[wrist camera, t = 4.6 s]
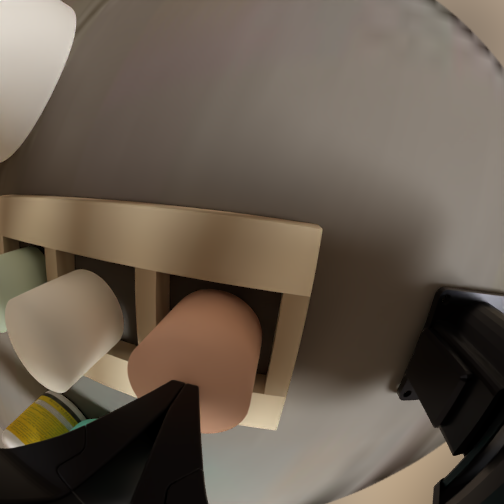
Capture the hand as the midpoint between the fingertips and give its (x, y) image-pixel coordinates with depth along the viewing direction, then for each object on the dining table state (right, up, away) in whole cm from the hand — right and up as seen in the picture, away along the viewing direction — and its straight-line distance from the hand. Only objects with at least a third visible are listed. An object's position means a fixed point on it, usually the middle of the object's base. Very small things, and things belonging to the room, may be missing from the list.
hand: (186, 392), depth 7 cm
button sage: (-11, +3, +5) cm, 13 cm away
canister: (-16, +17, +4) cm, 24 cm away
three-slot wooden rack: (-5, +2, +5) cm, 8 cm away
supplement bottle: (-14, -10, +9) cm, 19 cm away
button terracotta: (0, +1, +4) cm, 4 cm away
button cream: (-6, +2, +4) cm, 7 cm away
